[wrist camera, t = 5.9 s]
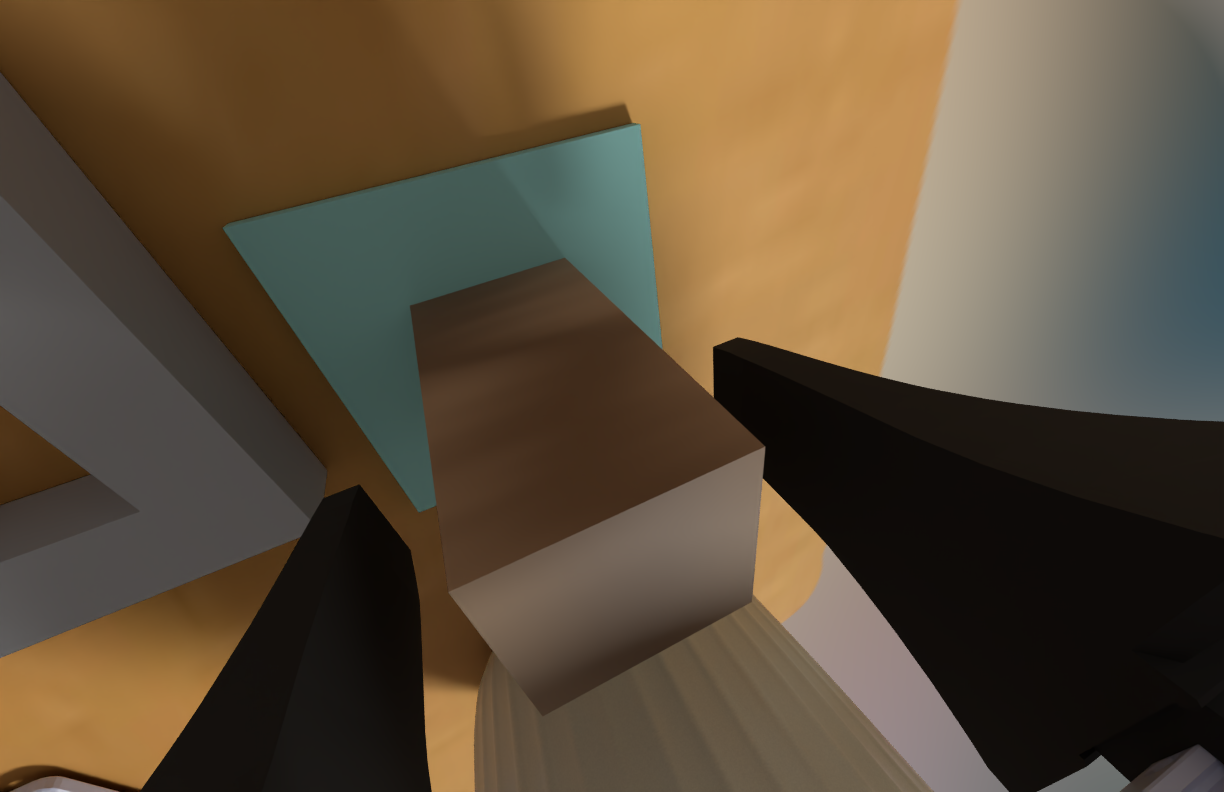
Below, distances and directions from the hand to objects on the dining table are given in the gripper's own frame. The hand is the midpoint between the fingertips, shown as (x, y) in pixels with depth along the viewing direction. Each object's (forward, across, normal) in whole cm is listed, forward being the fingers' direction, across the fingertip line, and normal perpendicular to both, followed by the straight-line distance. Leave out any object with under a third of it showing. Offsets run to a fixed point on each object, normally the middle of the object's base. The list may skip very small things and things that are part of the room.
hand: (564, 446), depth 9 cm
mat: (+5, 0, 0) cm, 5 cm away
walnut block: (+4, 0, 0) cm, 4 cm away
